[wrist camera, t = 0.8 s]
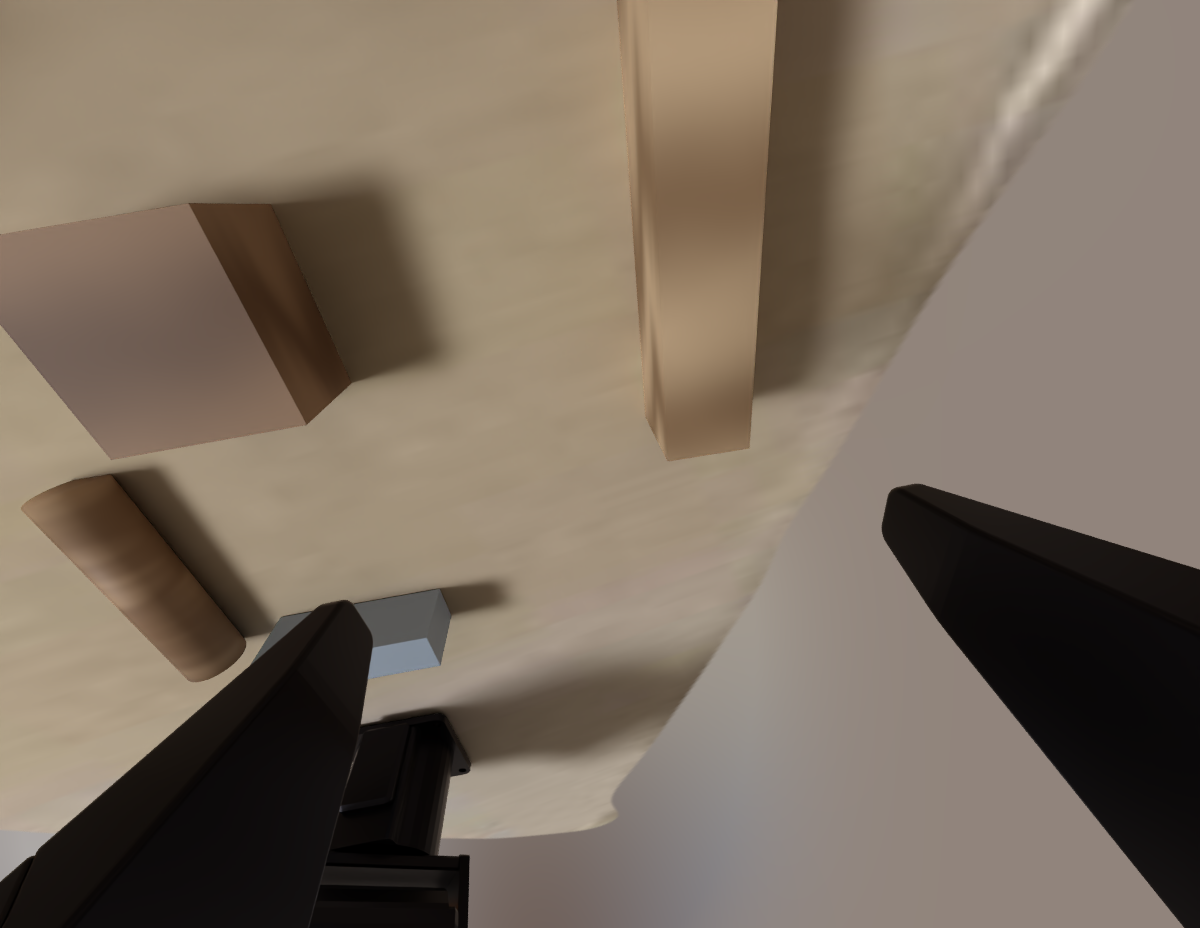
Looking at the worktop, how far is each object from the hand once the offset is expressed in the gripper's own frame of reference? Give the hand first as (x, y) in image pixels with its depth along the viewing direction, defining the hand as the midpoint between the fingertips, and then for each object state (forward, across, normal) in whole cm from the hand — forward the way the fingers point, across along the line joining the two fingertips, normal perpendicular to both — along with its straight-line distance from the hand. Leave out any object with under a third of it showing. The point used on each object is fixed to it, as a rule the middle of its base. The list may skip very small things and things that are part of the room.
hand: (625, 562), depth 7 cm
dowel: (+12, +20, +6) cm, 24 cm away
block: (+12, +12, -4) cm, 17 cm away
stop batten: (+12, +13, +11) cm, 21 cm away
